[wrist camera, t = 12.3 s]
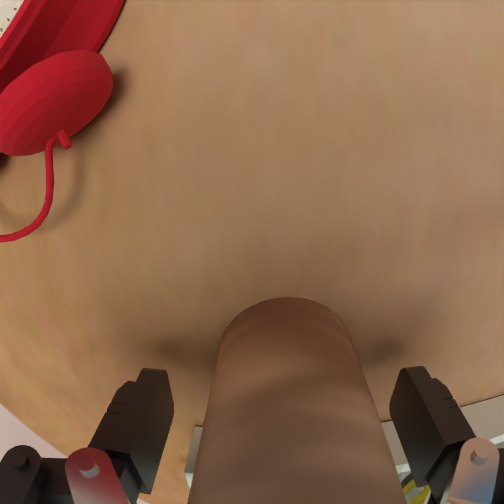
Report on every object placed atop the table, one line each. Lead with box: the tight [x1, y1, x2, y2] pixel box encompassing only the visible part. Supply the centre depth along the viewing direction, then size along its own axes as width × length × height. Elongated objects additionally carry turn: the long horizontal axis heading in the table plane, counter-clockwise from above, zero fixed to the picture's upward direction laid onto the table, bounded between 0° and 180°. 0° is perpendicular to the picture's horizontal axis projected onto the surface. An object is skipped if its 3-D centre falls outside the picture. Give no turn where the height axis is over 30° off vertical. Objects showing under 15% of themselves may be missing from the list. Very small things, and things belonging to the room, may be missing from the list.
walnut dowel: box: [187, 298, 407, 504], centre depth 8 cm, size 5×5×8 cm
